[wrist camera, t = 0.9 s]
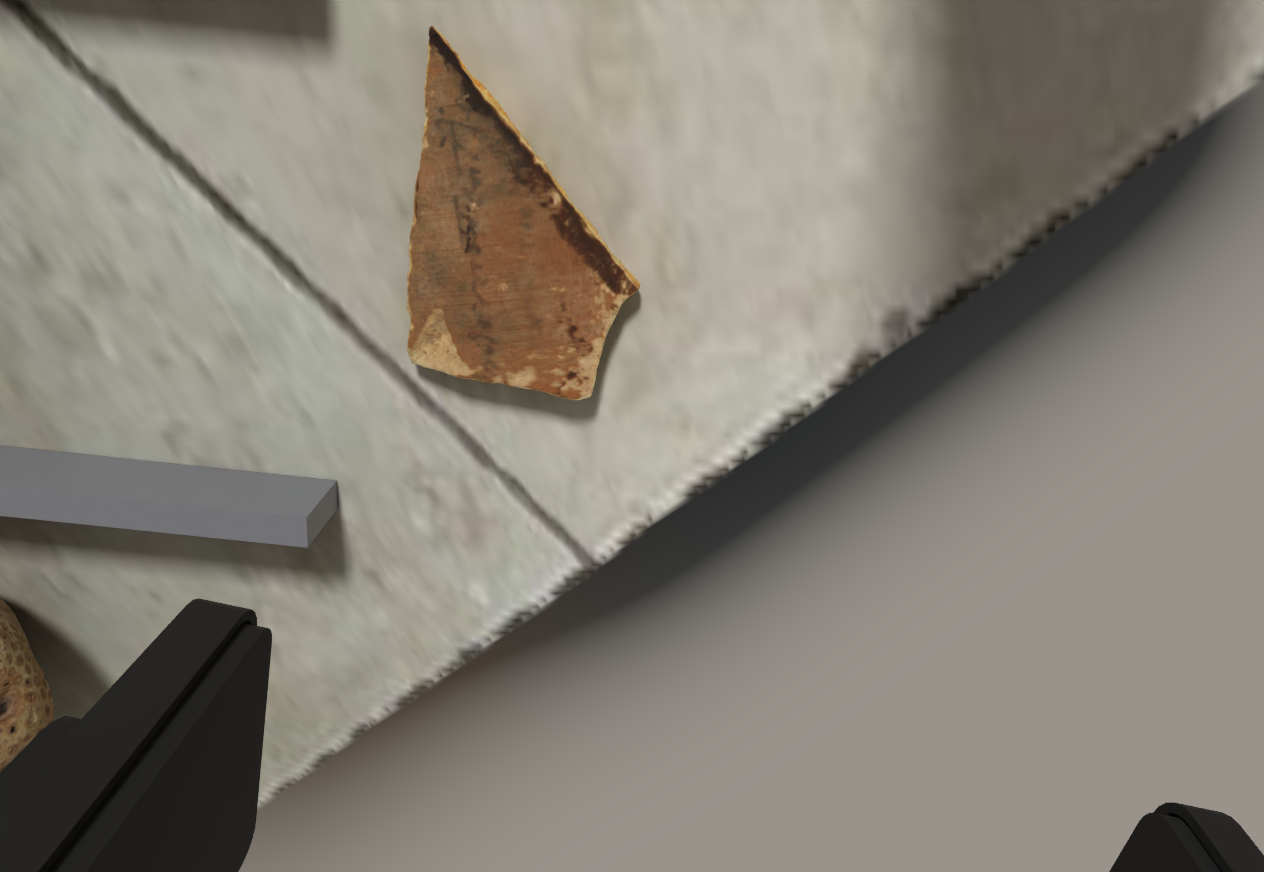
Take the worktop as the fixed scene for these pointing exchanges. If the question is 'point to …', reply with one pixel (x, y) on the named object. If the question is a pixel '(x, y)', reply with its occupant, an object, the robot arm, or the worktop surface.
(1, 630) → the natural sponge
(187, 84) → the worktop surface
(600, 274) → the shard
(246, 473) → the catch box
